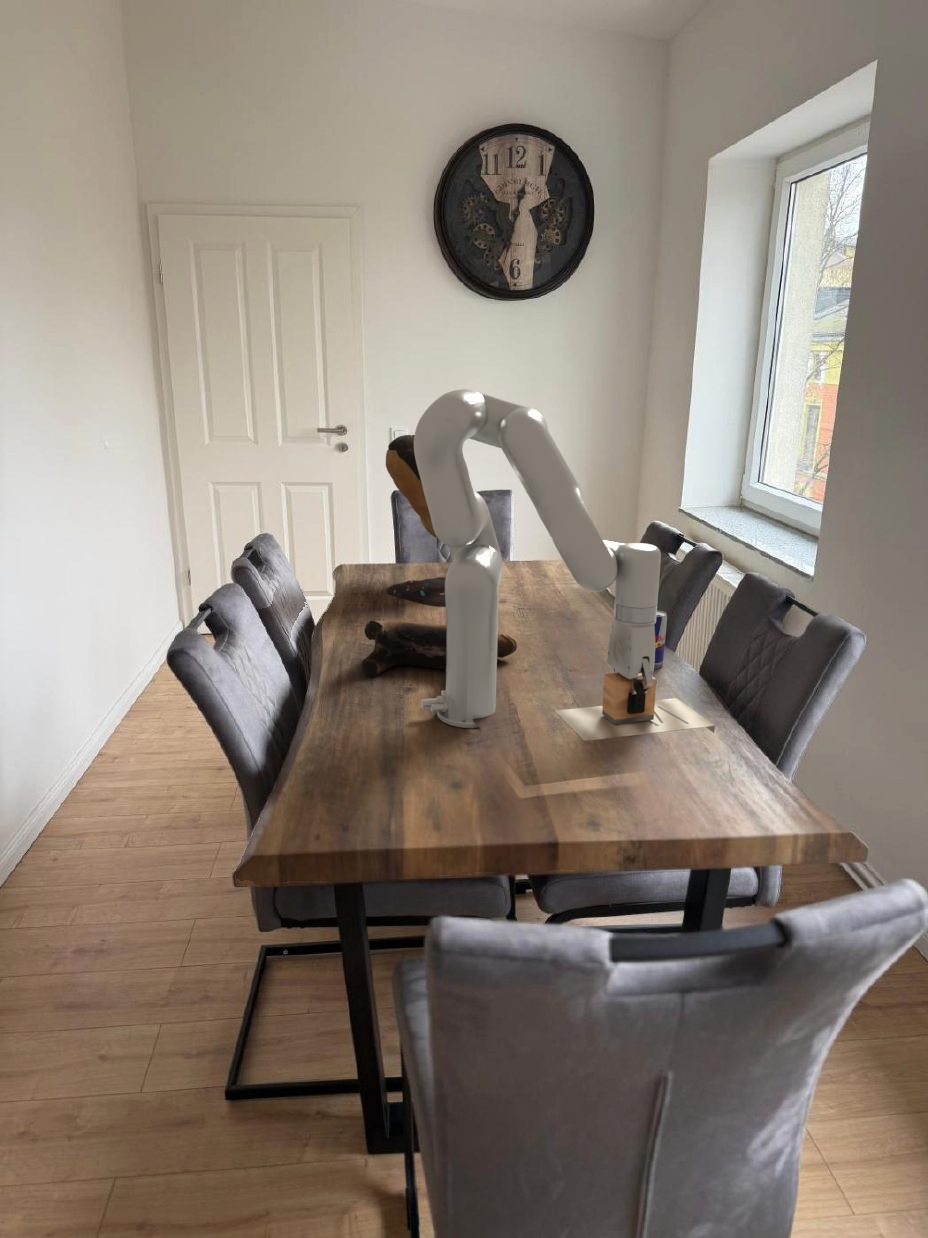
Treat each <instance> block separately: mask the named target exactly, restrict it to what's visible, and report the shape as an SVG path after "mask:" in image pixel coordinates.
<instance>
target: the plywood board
mask: <svg viewBox="0 0 928 1238" xmlns="http://www.w3.org/2000/svg"><path fill="white" fill-rule="evenodd" d="M602 709H603V705H597V706H596V705H594V706H588V707H576V708H568V709H559V710H557V709H556V710H554V713H555V714H556V715H557V716H558V717H560V718H561V719H562V721H563V722H565V723H566V724H567V725H568V726H569V728H570V729H572V730H573V732H575V733H576V734H577V735H578V736H579V737H580V738H581V739H582V740H583V741H584V742H586V741H587V742H588V741H597V740H606V739H614V738H623V737H629V736H639V735H640V736H641V735H648V734H649V735H650V734H657V733H664V732H673V731H682V730H689V729H690V730H691V729H699V728H700V729H701V728H705V729H706V728H707V729H708V730H709V731H711V733H713V734H715V730H716V725H715V724H714V723H712V722H711V721H710V720H708V719H707V718H705V717H704V716H702V715H701V714H699V713H698V712H697V711H695V710H694V709H692V708H691V707H689V706H688V705H686V704H685V703H684V702H682V701H681V700H679V699H678V698H676V697H674V698H665V699H664V698H663V699H655V707H654V720H647V721H639V722H631V723H623V724H615V725H614V724H613V723H612V722H610V721H609V720H608V719H607V718H606V717H605V716H604V715H602Z"/></svg>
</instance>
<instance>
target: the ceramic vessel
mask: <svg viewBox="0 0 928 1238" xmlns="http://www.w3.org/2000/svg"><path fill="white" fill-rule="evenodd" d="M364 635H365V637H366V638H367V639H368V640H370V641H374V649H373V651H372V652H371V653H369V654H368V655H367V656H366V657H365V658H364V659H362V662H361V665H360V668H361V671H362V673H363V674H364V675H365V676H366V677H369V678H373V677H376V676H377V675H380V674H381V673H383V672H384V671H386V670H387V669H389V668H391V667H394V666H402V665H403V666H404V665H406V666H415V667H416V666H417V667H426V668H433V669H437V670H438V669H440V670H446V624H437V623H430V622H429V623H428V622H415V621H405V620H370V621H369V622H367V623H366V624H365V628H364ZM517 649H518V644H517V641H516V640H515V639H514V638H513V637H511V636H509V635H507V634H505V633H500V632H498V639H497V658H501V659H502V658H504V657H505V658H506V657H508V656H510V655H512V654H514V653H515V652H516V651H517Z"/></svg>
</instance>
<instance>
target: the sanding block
mask: <svg viewBox="0 0 928 1238" xmlns="http://www.w3.org/2000/svg"><path fill="white" fill-rule="evenodd" d="M637 676H642V673H639V674H638V675H637ZM652 678H653V685H652V686H650V687H649V689H648V691H647V693H646V698H645V711H644V712H643V713H636V714H629V713H628V712H627V709H628V695H629V693H631V685H630V679H627V678H626V677H624V676H623V675H621V674H620V673H615V672H610V673H604V674H603V691H602V706H603V709H602V715H604V716H605V717H606V718H607V719H608V720H609V721H610V722H612V723H613V724H614V725H615V724H623V723H631V722H639V721H647V720H654V707H655V700H656V690H657V678H656V677H654V676H653V675H652ZM638 683H641V680H636V685H637V684H638Z"/></svg>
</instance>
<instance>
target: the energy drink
mask: <svg viewBox="0 0 928 1238" xmlns="http://www.w3.org/2000/svg"><path fill="white" fill-rule="evenodd" d="M667 620H668V615H667V612H665V611H662V610H657V615H656V623H655V624H654V627H655V662H654V669H658V668H659V669H660V668H661V667H662V666H663V665H664V656H665V648H666V647H665V645H666V637H667V636H666V635H667V634H666V632H667V622H668V621H667Z"/></svg>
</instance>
